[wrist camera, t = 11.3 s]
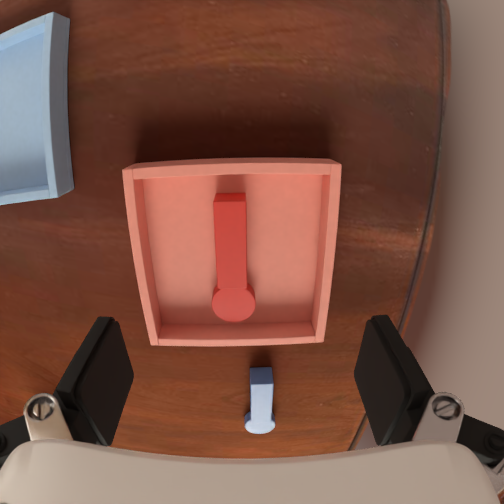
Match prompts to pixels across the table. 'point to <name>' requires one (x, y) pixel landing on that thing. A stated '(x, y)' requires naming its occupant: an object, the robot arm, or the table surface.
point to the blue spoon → (260, 401)
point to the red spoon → (231, 259)
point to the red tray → (258, 247)
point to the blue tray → (34, 111)
